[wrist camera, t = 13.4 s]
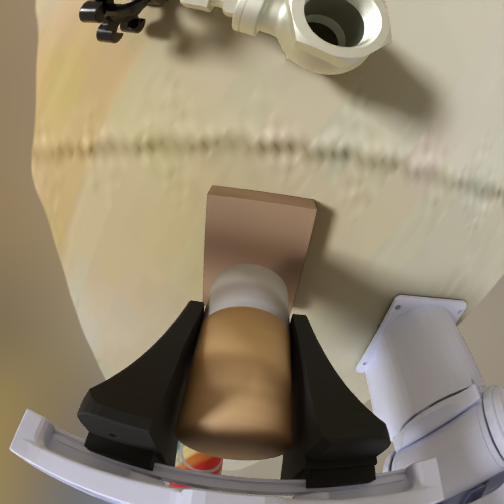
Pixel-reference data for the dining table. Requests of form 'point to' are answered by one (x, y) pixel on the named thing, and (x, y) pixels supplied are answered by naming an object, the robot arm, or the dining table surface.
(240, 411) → the marker peg
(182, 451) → the lotion bottle
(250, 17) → the valve
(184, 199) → the dining table surface
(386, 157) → the dining table surface
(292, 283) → the blocks
